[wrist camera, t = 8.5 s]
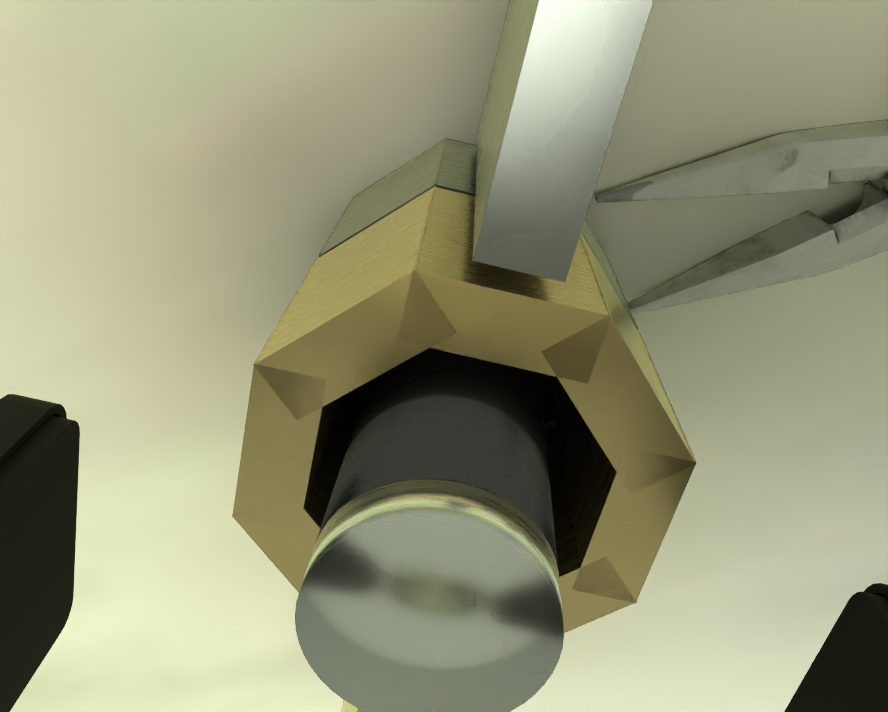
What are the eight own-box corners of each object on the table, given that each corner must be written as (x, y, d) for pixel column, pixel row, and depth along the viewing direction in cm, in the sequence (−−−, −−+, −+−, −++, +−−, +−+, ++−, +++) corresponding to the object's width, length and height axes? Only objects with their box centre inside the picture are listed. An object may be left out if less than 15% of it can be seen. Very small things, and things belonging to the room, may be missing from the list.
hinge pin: (544, 233, 19) (599, 557, 8) (511, 344, 21) (523, 751, 10) (421, 203, 19) (316, 492, 8) (396, 317, 20) (278, 697, 10)
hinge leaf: (632, 185, 18) (747, 346, 10) (471, 671, 25) (464, 999, 17) (365, 121, 18) (271, 236, 10) (273, 630, 25) (171, 945, 17)
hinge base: (793, -309, 15) (1185, -672, 7) (555, 410, 21) (600, 687, 13) (462, -401, 15) (433, -909, 6) (323, 359, 21) (218, 608, 13)
